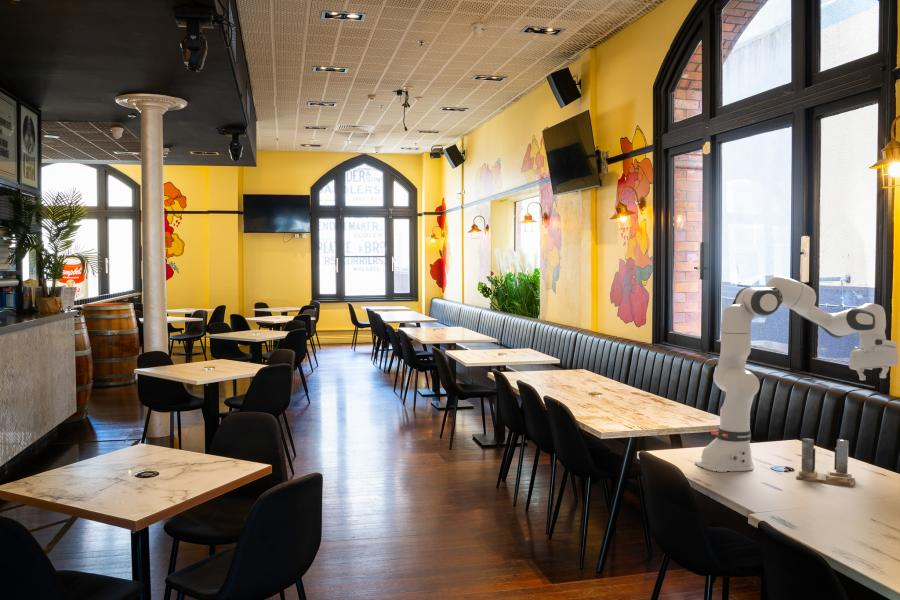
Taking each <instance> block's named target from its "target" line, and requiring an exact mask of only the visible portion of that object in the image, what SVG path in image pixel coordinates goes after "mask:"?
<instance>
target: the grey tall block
mask: <svg viewBox="0 0 900 600" xmlns="http://www.w3.org/2000/svg"><path fill="white" fill-rule="evenodd" d="M848 461H849V440H846V439H839V438H837V440H836V447H835V448H834V471H835V472H837V473H844V474H849V473H848V472H849V471H848V469H849V468H848V467H849V466H848V465H849V462H848Z"/></svg>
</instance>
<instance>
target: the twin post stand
mask: <svg viewBox="0 0 900 600" xmlns="http://www.w3.org/2000/svg"><path fill="white" fill-rule="evenodd" d="M814 440H815V439H814V438H813V439H812V438H802V440H801V467H800V469H799V470H798V471H797V474H796V476H795V479H796V480H800V481H801V480H802V481H806V482H807V481H809V482H814V483H821V484H829V485H836V486H843V487H849V488H854V486H855V482H856V478H855V477H852V476H853V475H852V474H850V473H848V474H844V473H837V472H836V471H830V470H829V471H826V473H820V472H818V469H816V447H815V441H814Z"/></svg>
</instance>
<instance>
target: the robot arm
mask: <svg viewBox="0 0 900 600" xmlns="http://www.w3.org/2000/svg"><path fill="white" fill-rule="evenodd" d="M816 301H817V294H816V292H815V290H814V289H813V288H812V287H811V286H809V285H807V284H806V283H803V282H801V281H798V280H795V279H794V278H791V277H787V276H782V275H775V276H773V277H771V278H770V279H769V280H768V281H767V282H766V284H765V286H764V287H761V286H747V287H744V288H741V289H740V290H739V291H738V292H737V293H736V295H735V297H734V300H733V302H732V304H730V305H728V306H726V307H725V308H724V309H723V312H722V317H721V324H720V353H719V359H718V363H717V367H716V369H715V370H714V373H713V376H712V377H713V382H714V384H715V385H716V386H717V388H719V390H722V391H723V392H725V397H724V401H723V404H722V406H721V407H720V410H719V414H720V415H719V428H718V430H716V429H711V430H710V431H711V433H710V434H711V435H714V436H716V437H715V439H713V440H712V441H711V442H710V443H709V444H707V445H706V446H705V447H703V450H702V452H701V459H698V460H695V463H696V464H697V465H696V464H695V463H694V464H695V465H696V466H698V467H699V468H702V467H703V469H705V470H708V471H712V472H716V471H717V472H718V473H726V472H727V471H730V472H743V471H744V472H746V471H747V472H748V471H754V467H755V466H754V463H753V458H752V450H751V443H750V441H751V440H752V434H751V433H752V432H751V428H750V427H751V423H750V422H751V420H750V419H751V410H752V409H751V408H752V405H753V402H754V398H755V395H756V394H757V393H758V392H759V390H760V381H759V379H758V377H757V376H756V375H755V374H754V373H753V372H751V371H750V370H748V369H746V364H747V360H748V357H749V356H750V354H751V351H752V349H751V348H752V347H751V346H752V326H751V324H752V320H753V319H754V317H755V316H761V317H762V316H763V317H765V316H770V315H773V314H774V313H775V312H777V311H778V309H779V307H780V305H781V306H783V307H785V308H787V309H790V310H792V311H794V312H795V313H796V314H797V315H798V316H800V317H802V318H803V319H805V320H807V321H809V322H811V323H813V324H814V325H817V326H819V327H820V328H821V329H822V330H823V331H825V333H827V335H829V336H830V337H832V338H835V339H840V338H844V337H846V336H849V335H853V334H856V333H857V334H859V346H854V347H853V348H852V350H850V354H849V360H848V368H849V369H850V370H854V371H856V372H857V375H858V376H859V380H860V381H866V379H867V378H866V377H867V376H866V375H865V374H864V372H865V370H870V369H879V368H881V369H882V370H881V372H880V373H878V375H879V379H886V378H887V374H888V372H889V370H890V367H896V366H897V365H898V364H899V350H898V349H897V348H898V346H899V345H898V344H899V343H898V342H897V341H892V340H889V339H887V337H886V328H887V319H886V318H887V317H886V311H885V309H884V307H883V306H882V305H880V304H877V303H872V302H871V303H870V302H869V303H864V304H862V305H861V306H858V307H854V308H853V307H852V308H849V309H846V310H845V309H844V310H842V311H838V312H833V313H832V312H827V311H825V310H823V309H822V308H820V307H818V306H816ZM727 473H728V472H727Z"/></svg>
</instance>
